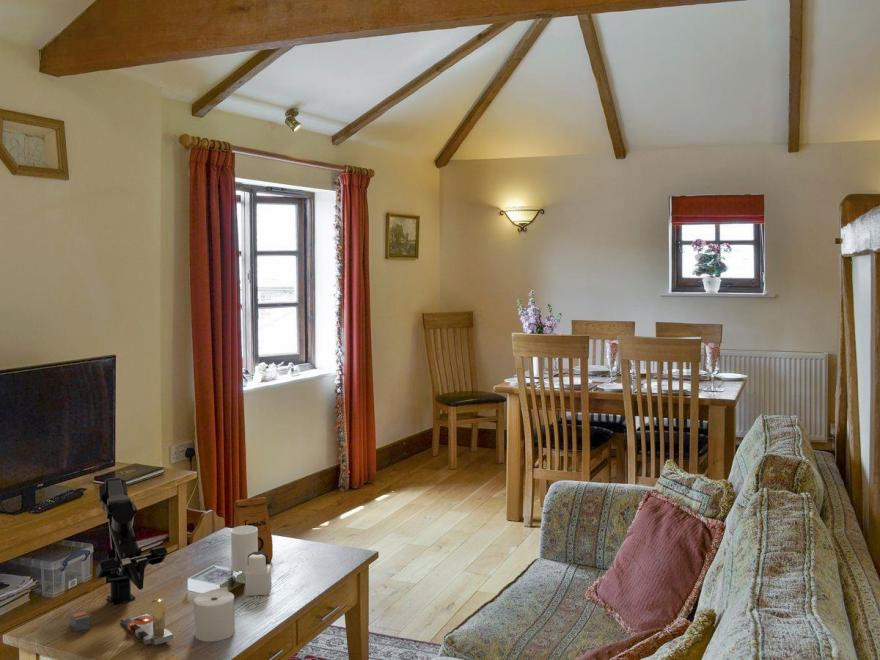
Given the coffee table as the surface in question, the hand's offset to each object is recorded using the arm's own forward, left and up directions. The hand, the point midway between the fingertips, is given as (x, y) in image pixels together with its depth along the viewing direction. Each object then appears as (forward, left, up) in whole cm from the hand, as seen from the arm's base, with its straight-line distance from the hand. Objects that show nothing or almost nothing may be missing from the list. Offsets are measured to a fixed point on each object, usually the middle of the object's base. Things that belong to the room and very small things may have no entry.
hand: (141, 588), depth 233 cm
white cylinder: (-14, +39, -12) cm, 43 cm away
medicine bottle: (-2, +37, -12) cm, 39 cm away
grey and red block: (-12, -13, -11) cm, 21 cm away
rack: (+6, -1, -10) cm, 12 cm away
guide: (+2, 0, -11) cm, 11 cm away
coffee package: (-25, +48, -12) cm, 55 cm away
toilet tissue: (+15, +14, -12) cm, 24 cm away
